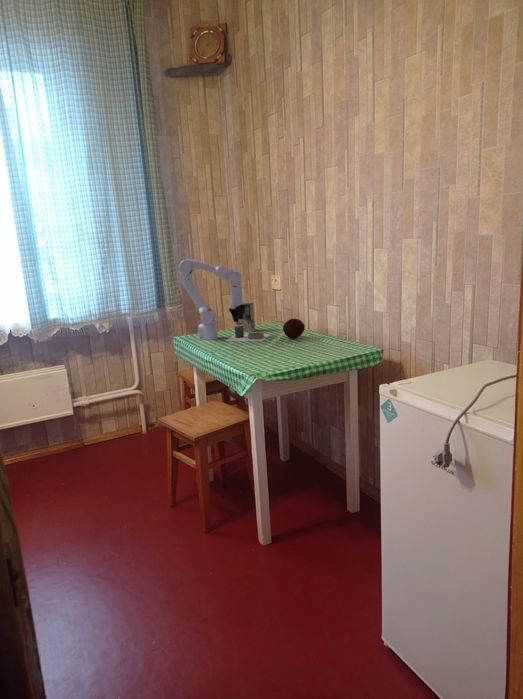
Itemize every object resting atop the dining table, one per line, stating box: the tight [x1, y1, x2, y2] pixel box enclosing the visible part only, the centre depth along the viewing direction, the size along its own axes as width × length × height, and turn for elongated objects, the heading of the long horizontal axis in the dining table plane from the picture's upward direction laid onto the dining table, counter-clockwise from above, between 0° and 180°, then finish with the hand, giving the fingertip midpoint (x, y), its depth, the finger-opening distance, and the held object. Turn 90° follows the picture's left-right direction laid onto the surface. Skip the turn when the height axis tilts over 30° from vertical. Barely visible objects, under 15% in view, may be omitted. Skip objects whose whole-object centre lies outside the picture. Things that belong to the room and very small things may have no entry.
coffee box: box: [235, 302, 256, 333], centre depth 284 cm, size 9×6×16 cm
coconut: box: [282, 318, 306, 340], centre depth 261 cm, size 11×13×10 cm
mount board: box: [224, 331, 271, 342], centre depth 267 cm, size 20×16×3 cm
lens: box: [233, 322, 245, 338], centre depth 269 cm, size 5×5×7 cm
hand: (238, 320), depth 267 cm, fingers open, 7 cm apart
